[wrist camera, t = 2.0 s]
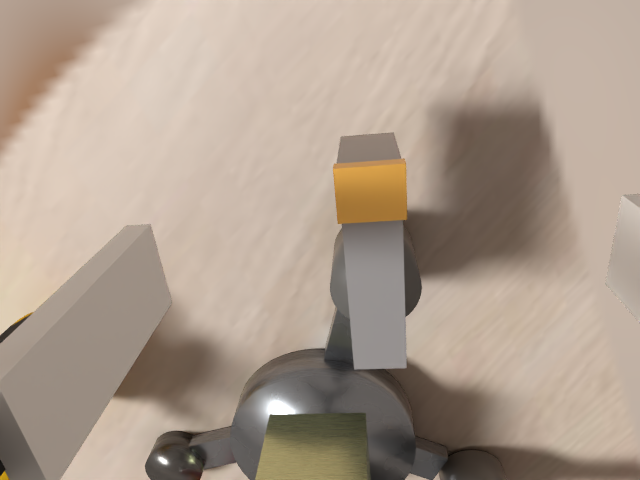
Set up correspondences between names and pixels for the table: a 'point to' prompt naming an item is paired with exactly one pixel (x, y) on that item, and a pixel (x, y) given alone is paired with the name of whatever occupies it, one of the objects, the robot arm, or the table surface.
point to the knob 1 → (373, 250)
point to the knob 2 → (472, 467)
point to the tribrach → (309, 424)
